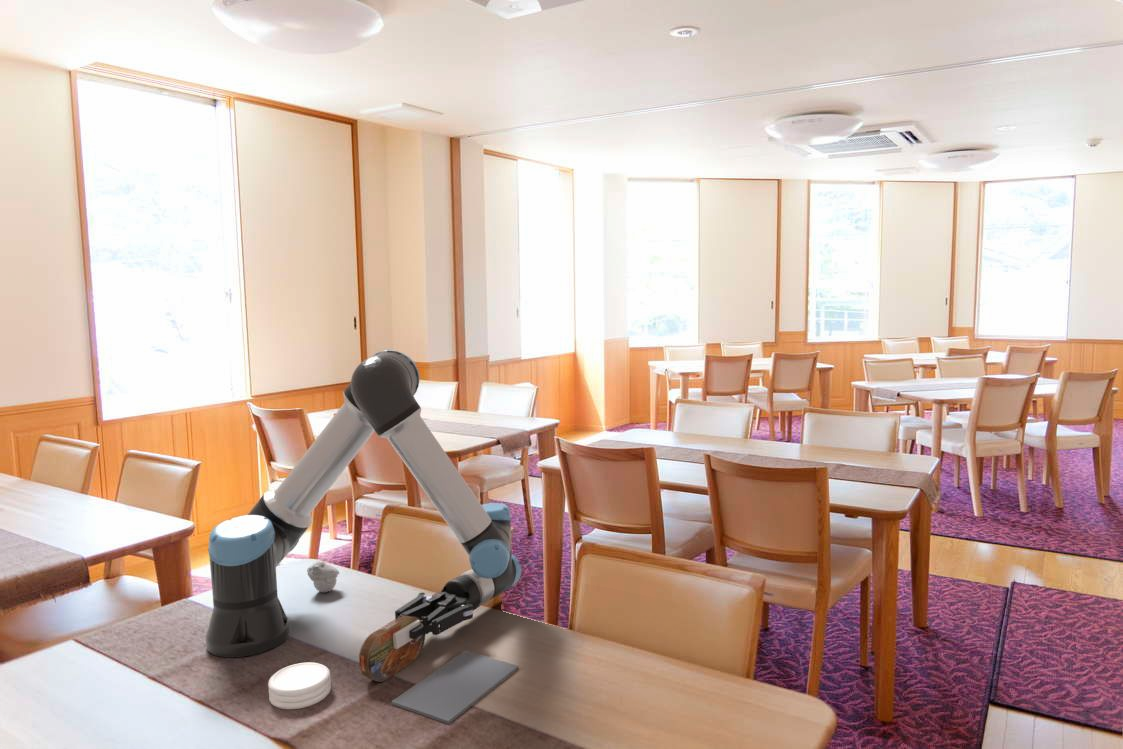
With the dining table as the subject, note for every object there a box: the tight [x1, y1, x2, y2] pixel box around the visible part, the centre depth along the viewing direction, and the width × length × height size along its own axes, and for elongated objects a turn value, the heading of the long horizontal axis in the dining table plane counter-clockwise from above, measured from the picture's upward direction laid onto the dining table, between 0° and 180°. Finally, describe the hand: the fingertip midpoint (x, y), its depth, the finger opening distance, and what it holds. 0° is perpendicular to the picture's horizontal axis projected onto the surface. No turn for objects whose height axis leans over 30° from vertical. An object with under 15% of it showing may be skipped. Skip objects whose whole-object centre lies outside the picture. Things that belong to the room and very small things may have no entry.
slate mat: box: [391, 650, 519, 725], centre depth 133 cm, size 12×20×1 cm, turn 150°
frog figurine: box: [306, 560, 340, 593], centre depth 174 cm, size 6×7×7 cm
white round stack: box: [267, 662, 332, 710], centre depth 131 cm, size 10×10×4 cm
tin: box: [358, 616, 426, 683], centre depth 139 cm, size 15×3×8 cm, turn 150°
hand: (387, 639), depth 138 cm, fingers closed on tin, 3 cm apart
